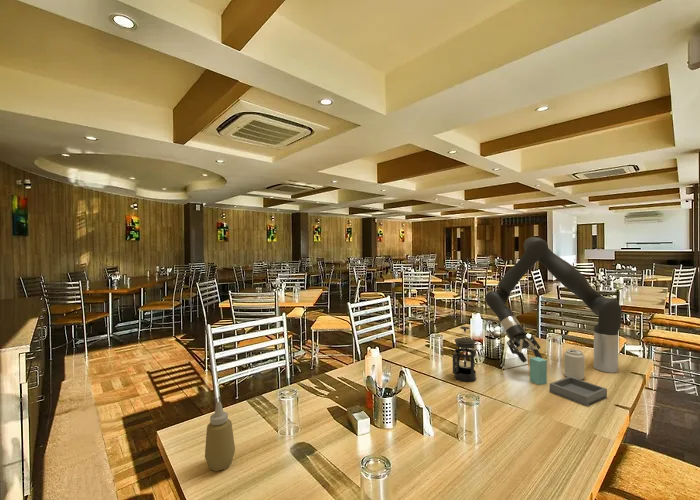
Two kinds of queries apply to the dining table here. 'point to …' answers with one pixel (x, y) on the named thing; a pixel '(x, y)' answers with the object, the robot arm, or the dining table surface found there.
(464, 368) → the french press
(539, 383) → the green tall block
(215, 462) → the squeeze bottle
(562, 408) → the dining table surface
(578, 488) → the dining table surface
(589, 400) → the tray
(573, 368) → the can
